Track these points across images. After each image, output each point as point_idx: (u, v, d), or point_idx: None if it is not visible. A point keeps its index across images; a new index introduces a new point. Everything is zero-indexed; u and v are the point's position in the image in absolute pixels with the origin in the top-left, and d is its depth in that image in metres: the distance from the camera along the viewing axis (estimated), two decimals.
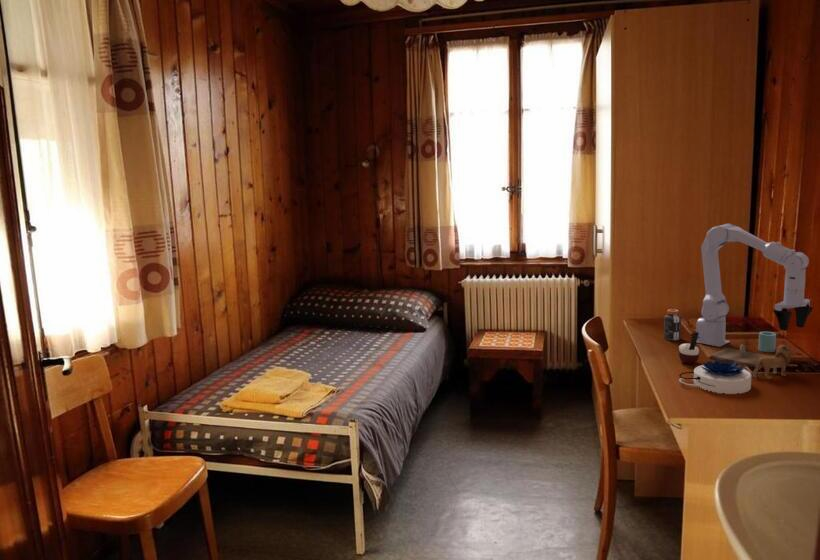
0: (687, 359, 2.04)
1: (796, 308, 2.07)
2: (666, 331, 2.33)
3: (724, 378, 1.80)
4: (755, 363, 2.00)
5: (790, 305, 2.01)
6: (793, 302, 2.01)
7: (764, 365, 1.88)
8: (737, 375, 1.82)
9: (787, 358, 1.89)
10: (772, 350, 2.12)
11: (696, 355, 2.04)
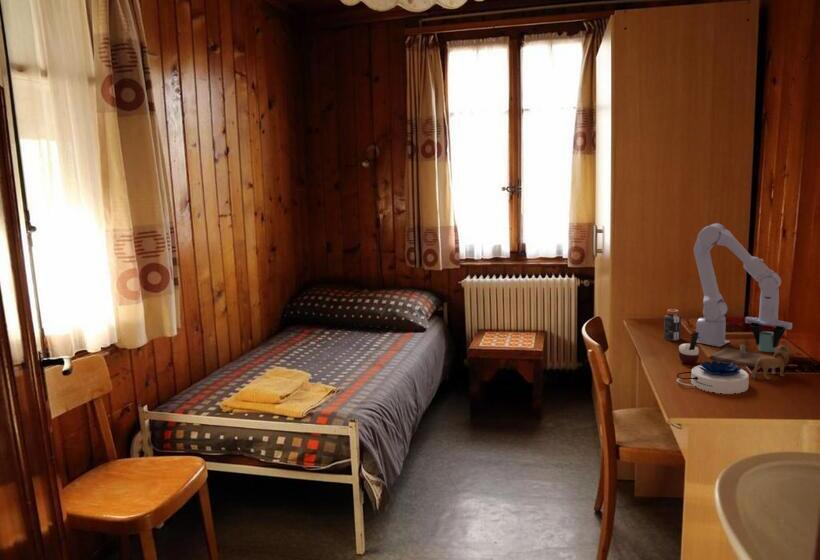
0: (687, 359, 2.04)
1: None
2: (666, 331, 2.33)
3: (722, 378, 1.81)
4: (755, 363, 2.00)
5: (754, 320, 2.15)
6: (759, 318, 2.14)
7: (763, 365, 1.88)
8: (734, 375, 1.82)
9: (786, 358, 1.89)
10: (772, 350, 2.12)
11: (696, 355, 2.04)
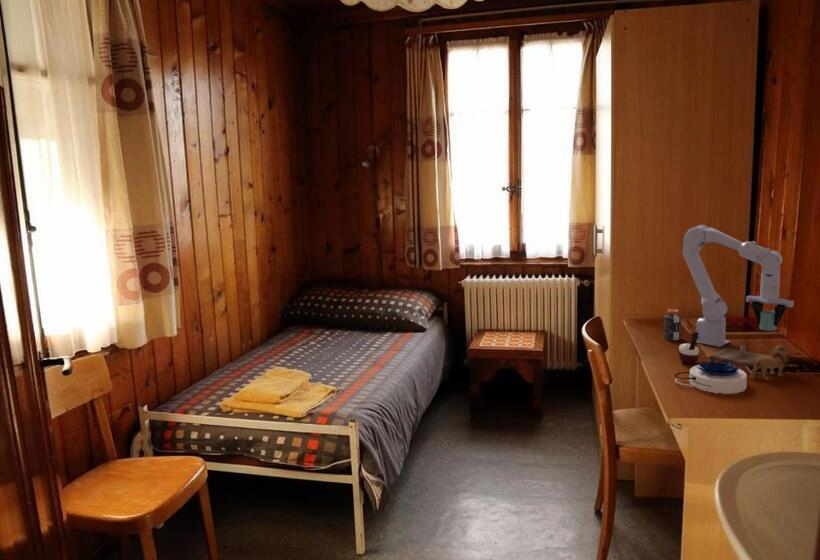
0: (687, 359, 2.04)
1: None
2: (666, 331, 2.33)
3: (720, 378, 1.81)
4: None
5: (755, 299, 2.13)
6: (760, 297, 2.12)
7: (761, 366, 1.87)
8: (733, 375, 1.82)
9: (784, 358, 1.89)
10: (773, 329, 2.11)
11: (696, 355, 2.04)
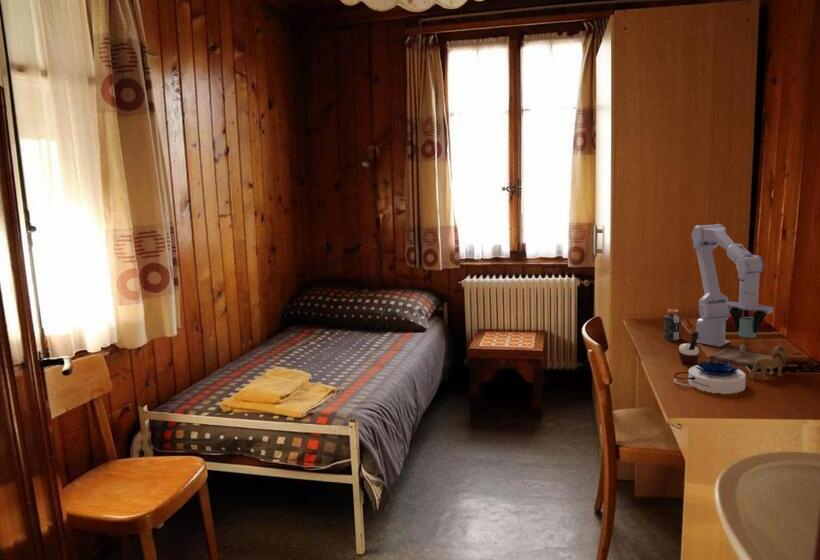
0: (687, 359, 2.04)
1: None
2: (666, 331, 2.33)
3: (719, 378, 1.81)
4: None
5: (734, 305, 2.07)
6: (739, 303, 2.06)
7: (761, 366, 1.87)
8: (731, 375, 1.82)
9: (784, 359, 1.89)
10: (752, 335, 2.04)
11: (696, 355, 2.04)
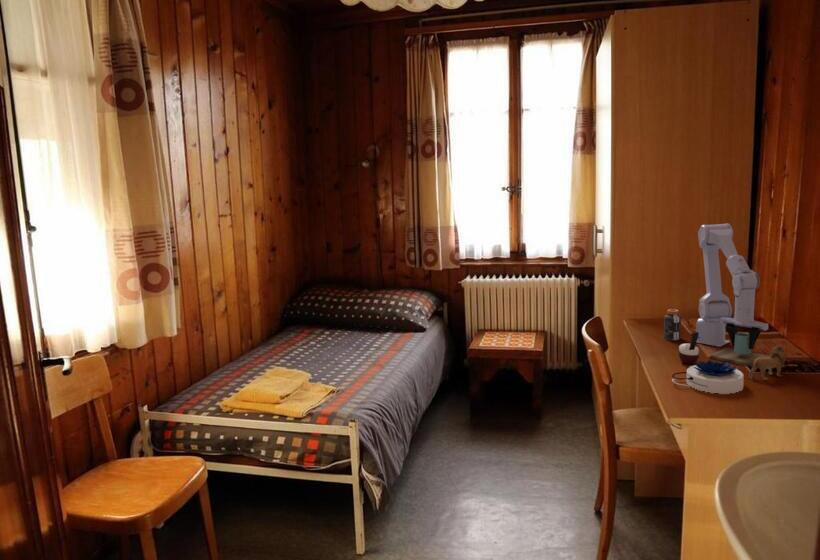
0: (687, 359, 2.04)
1: None
2: (666, 331, 2.33)
3: (717, 378, 1.81)
4: None
5: (729, 321, 2.07)
6: (734, 319, 2.05)
7: (760, 366, 1.87)
8: (729, 375, 1.82)
9: (782, 359, 1.89)
10: (748, 352, 2.04)
11: (696, 355, 2.04)
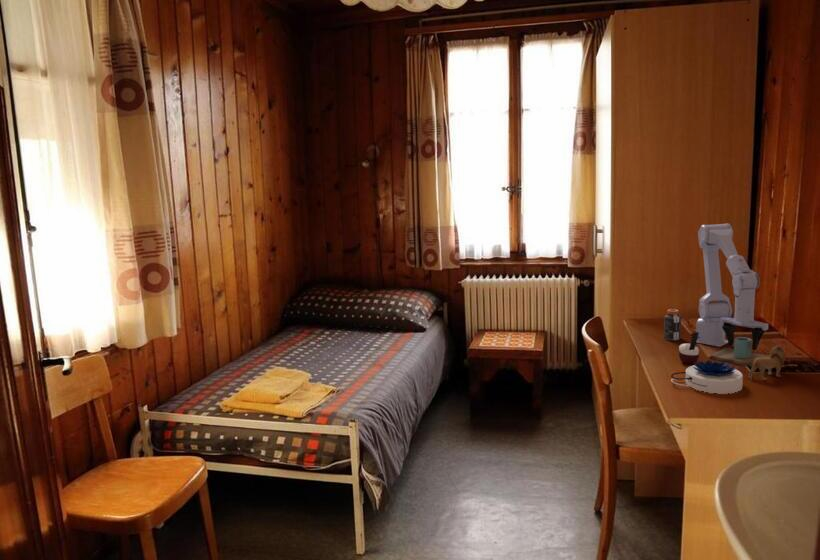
0: (687, 359, 2.04)
1: None
2: (666, 331, 2.33)
3: (716, 378, 1.81)
4: None
5: (730, 321, 2.07)
6: (734, 319, 2.05)
7: (759, 366, 1.87)
8: (728, 375, 1.82)
9: (782, 359, 1.88)
10: (747, 356, 2.05)
11: (696, 355, 2.04)
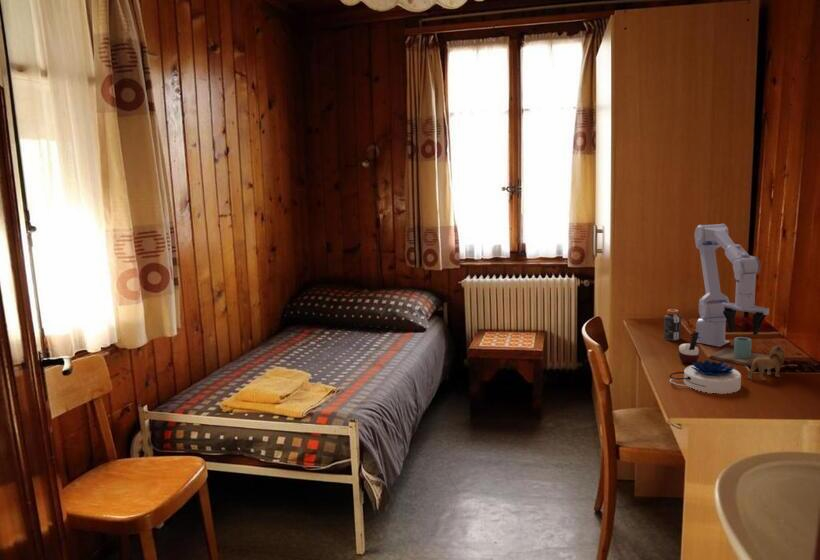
0: (687, 359, 2.04)
1: None
2: (666, 331, 2.33)
3: (714, 378, 1.81)
4: None
5: (730, 306, 2.06)
6: (735, 304, 2.05)
7: (759, 366, 1.87)
8: (727, 375, 1.82)
9: (781, 359, 1.88)
10: (747, 356, 2.05)
11: (696, 355, 2.04)
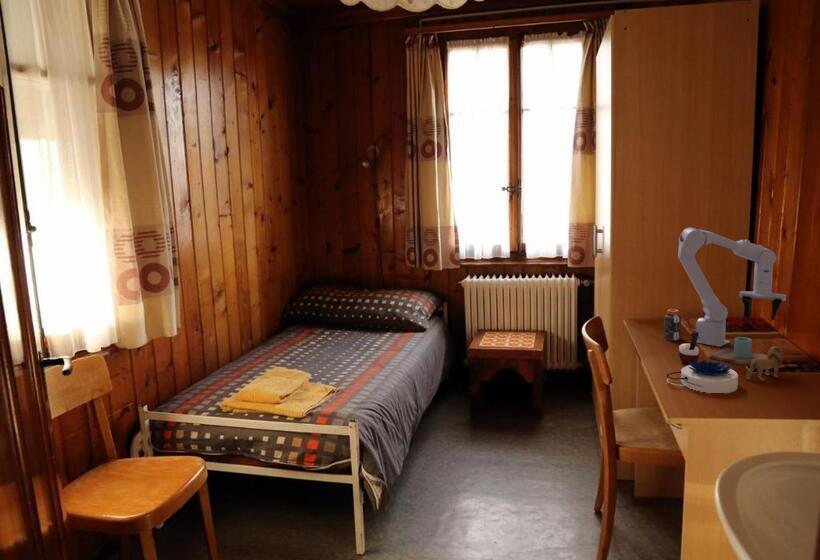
0: (687, 359, 2.04)
1: None
2: (666, 331, 2.33)
3: (711, 378, 1.81)
4: None
5: (749, 294, 2.21)
6: (754, 292, 2.20)
7: (757, 367, 1.87)
8: (724, 375, 1.83)
9: (780, 359, 1.88)
10: (747, 356, 2.05)
11: (696, 355, 2.04)
